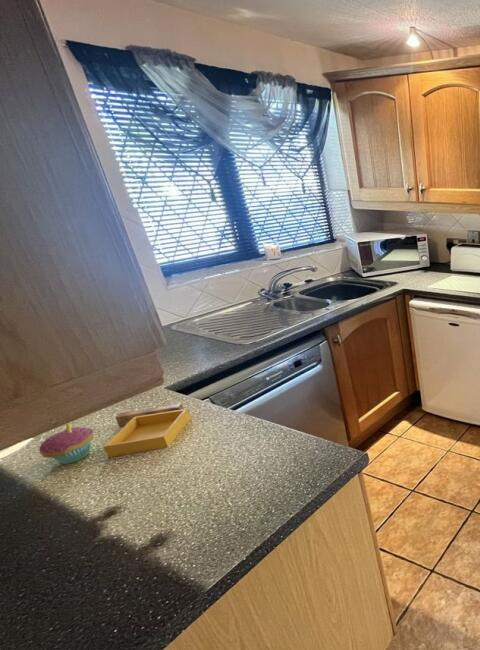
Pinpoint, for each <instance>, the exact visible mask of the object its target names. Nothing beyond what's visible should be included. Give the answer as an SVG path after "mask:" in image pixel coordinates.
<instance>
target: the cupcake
mask: <svg viewBox="0 0 480 650" xmlns="http://www.w3.org/2000/svg"><path fill="white" fill-rule="evenodd" d="M65 427H66V429H64V430H62V431H59V432H57V433H54V434H53V435H51V436H49V437H48V438H46V439H45V440H44V441H43V442H42V443H41V444H40V446H39V447H38V448H39V453H40V455H41V456H42V458H52V459H54V460H56V461H57V462H59V463H60V464H62V465H68V464H74V463H76V462H79V461H80V460H83V459H85V458H86V457H87V456H88V455H90V452H91V442H92V441H93V440H94V430H93V429H91V428H87V427H80V426H79V427H78V426H77V427H72V425H71V423H70V424H67V425H66V424H65Z"/></svg>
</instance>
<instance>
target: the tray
mask: <svg viewBox="0 0 480 650" xmlns="http://www.w3.org/2000/svg"><path fill="white" fill-rule="evenodd" d="M191 419H192V416H191V413H190V412H189V409H188V408H183V409H182V410H175V411H169V412H162V413H156V414H149V415H143V416H136V417H133V418H132V419H131V420H130V421H129V422H128V423H127V424H126V425H125V426H122V428H121V429H120V430H118V432H116V434H115V435H113V437H111V439H109V441H108V442H107V443H105V445H103V449H104V451H105V453H106V456H107V457H108V458H111V457H116V456H117V457H118V456H123V455H128V454H134V453H140V452H146V451H152V450H157V449H165V448H168V447H169V446H170V445H171V444H172V443H173V442H174V440H175V439H176V437H177V436H178V435H179V434H180V433H181V431H182V430H183V429H184V428H185V426H186V425H188V423H189V422H190V420H191Z"/></svg>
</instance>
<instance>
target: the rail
mask: <svg viewBox="0 0 480 650" xmlns="http://www.w3.org/2000/svg"><path fill="white" fill-rule="evenodd" d="M182 409H184V406H183V404H182V403H174V404H169V405H163V406H156V407H149V408H143V409H137V410H131V411H125V412H124V411H123V412H119V413H118V414H116V415H115V417H114V418H115V420H116V423H117V425H118V427H124V426H125V425H126V424H127V423H128V422H129V421H130V420H131V419H132V418H133V417H136V416H143V415H149V414H156V413H162V412H169V411H175V410H182Z"/></svg>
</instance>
